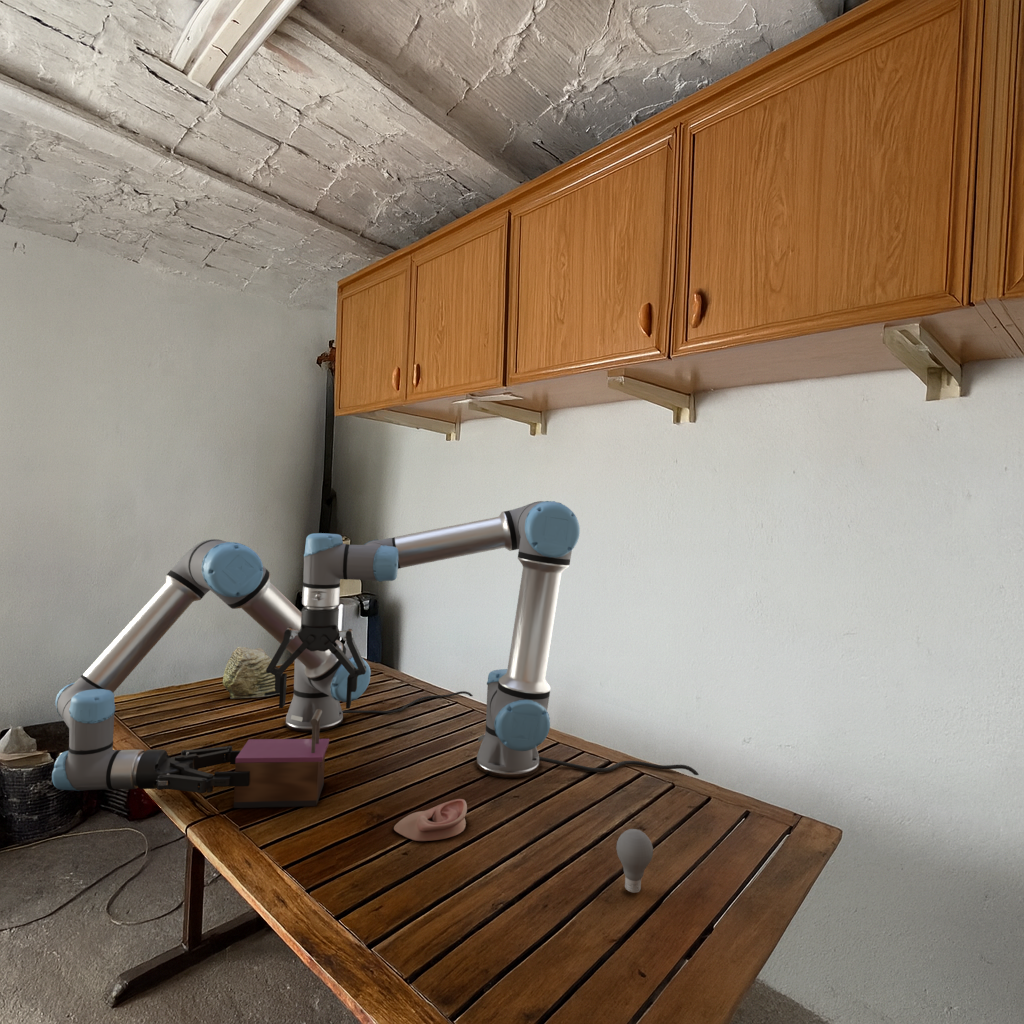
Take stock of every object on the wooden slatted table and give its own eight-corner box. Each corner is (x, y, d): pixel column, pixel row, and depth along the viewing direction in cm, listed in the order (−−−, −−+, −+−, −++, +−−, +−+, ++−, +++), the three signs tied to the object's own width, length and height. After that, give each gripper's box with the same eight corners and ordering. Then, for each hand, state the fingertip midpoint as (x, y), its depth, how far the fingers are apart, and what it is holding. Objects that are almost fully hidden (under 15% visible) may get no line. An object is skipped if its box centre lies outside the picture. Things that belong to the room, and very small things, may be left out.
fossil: (218, 695, 195) (220, 647, 195) (278, 685, 208) (279, 640, 207) (228, 703, 189) (230, 653, 188) (289, 692, 201) (290, 645, 201)
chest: (323, 784, 140) (325, 743, 140) (316, 806, 130) (318, 762, 130) (247, 785, 137) (248, 743, 137) (233, 808, 127) (235, 763, 127)
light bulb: (610, 879, 108) (613, 822, 108) (644, 879, 109) (647, 822, 109) (619, 902, 102) (622, 840, 102) (655, 901, 103) (658, 840, 103)
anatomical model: (388, 815, 119) (410, 788, 130) (387, 836, 119) (409, 808, 130) (456, 826, 116) (472, 797, 127) (455, 847, 116) (471, 817, 128)
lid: (329, 743, 140) (330, 705, 139) (322, 761, 130) (323, 721, 130) (248, 743, 137) (250, 705, 137) (235, 762, 127) (236, 722, 127)
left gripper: (163, 764, 141) (268, 762, 144) (115, 814, 118) (240, 811, 122) (164, 730, 141) (269, 729, 144) (116, 775, 118) (241, 772, 121)
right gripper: (254, 607, 128) (249, 711, 129) (379, 611, 132) (374, 712, 132) (263, 601, 136) (258, 700, 136) (381, 605, 139) (376, 701, 140)
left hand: (255, 767), depth 133 cm, fingers closed on chest, 10 cm apart
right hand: (315, 706), depth 134 cm, fingers open, 13 cm apart
